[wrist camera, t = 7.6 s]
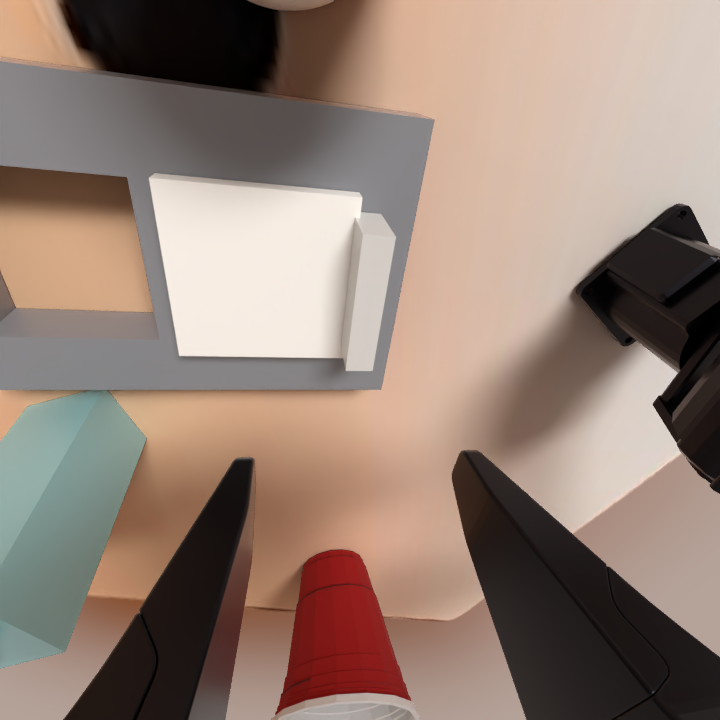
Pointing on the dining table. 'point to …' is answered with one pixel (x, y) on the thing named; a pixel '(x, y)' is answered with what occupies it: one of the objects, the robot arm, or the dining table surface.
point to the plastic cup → (341, 649)
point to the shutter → (272, 269)
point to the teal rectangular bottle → (58, 515)
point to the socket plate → (197, 159)
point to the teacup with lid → (291, 4)
